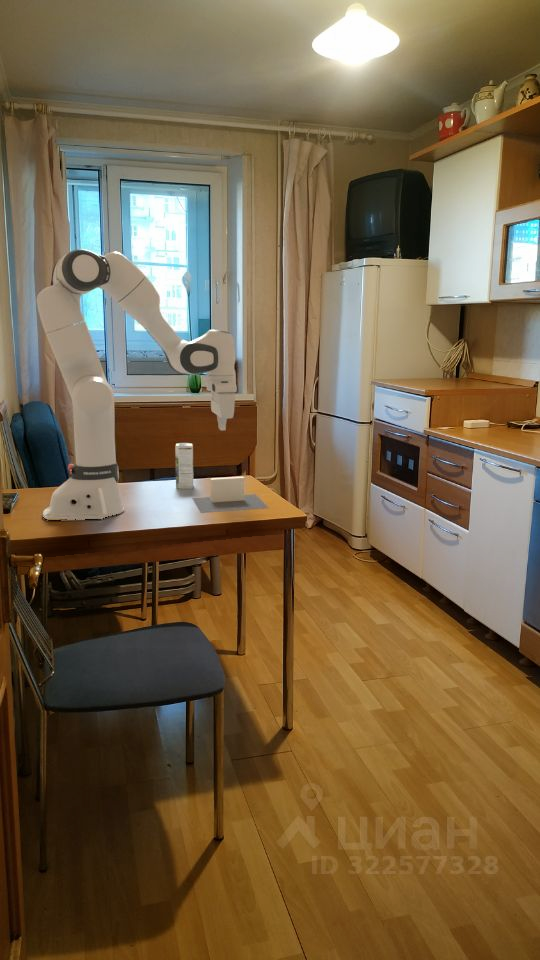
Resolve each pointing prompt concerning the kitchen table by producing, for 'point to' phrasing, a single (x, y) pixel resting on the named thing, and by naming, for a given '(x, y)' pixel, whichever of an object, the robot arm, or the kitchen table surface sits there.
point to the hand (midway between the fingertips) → (222, 429)
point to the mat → (229, 504)
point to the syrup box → (184, 465)
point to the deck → (227, 489)
